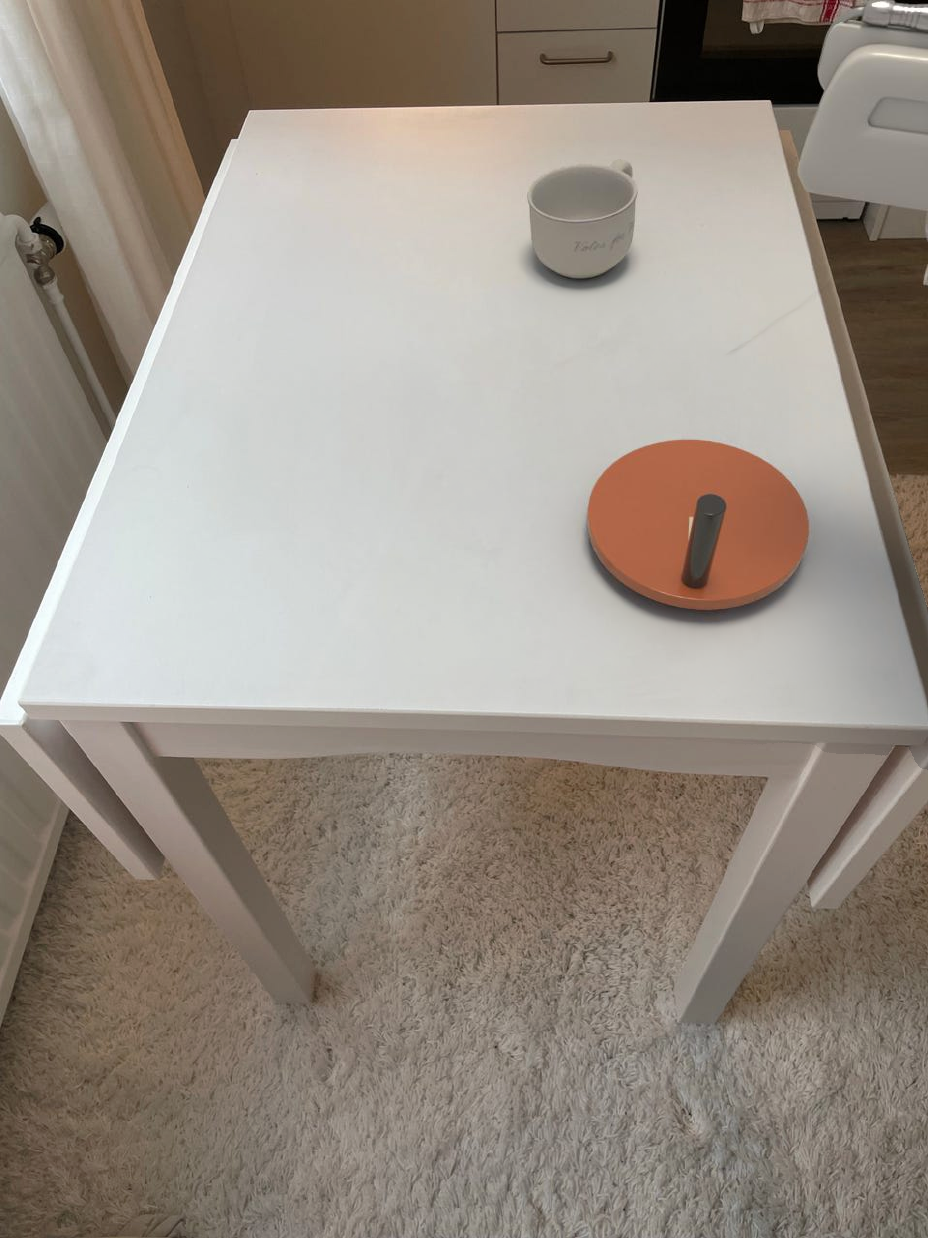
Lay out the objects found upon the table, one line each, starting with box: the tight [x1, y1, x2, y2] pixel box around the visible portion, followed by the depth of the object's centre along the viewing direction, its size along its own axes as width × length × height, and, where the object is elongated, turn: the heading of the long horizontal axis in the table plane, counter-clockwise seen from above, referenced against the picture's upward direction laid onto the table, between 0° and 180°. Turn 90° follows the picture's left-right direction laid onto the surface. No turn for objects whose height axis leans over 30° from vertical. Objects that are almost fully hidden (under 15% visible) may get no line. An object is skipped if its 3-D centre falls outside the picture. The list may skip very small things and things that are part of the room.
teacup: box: [526, 159, 639, 279], centre depth 98 cm, size 14×11×8 cm
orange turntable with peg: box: [586, 439, 810, 611], centre depth 72 cm, size 17×17×9 cm
